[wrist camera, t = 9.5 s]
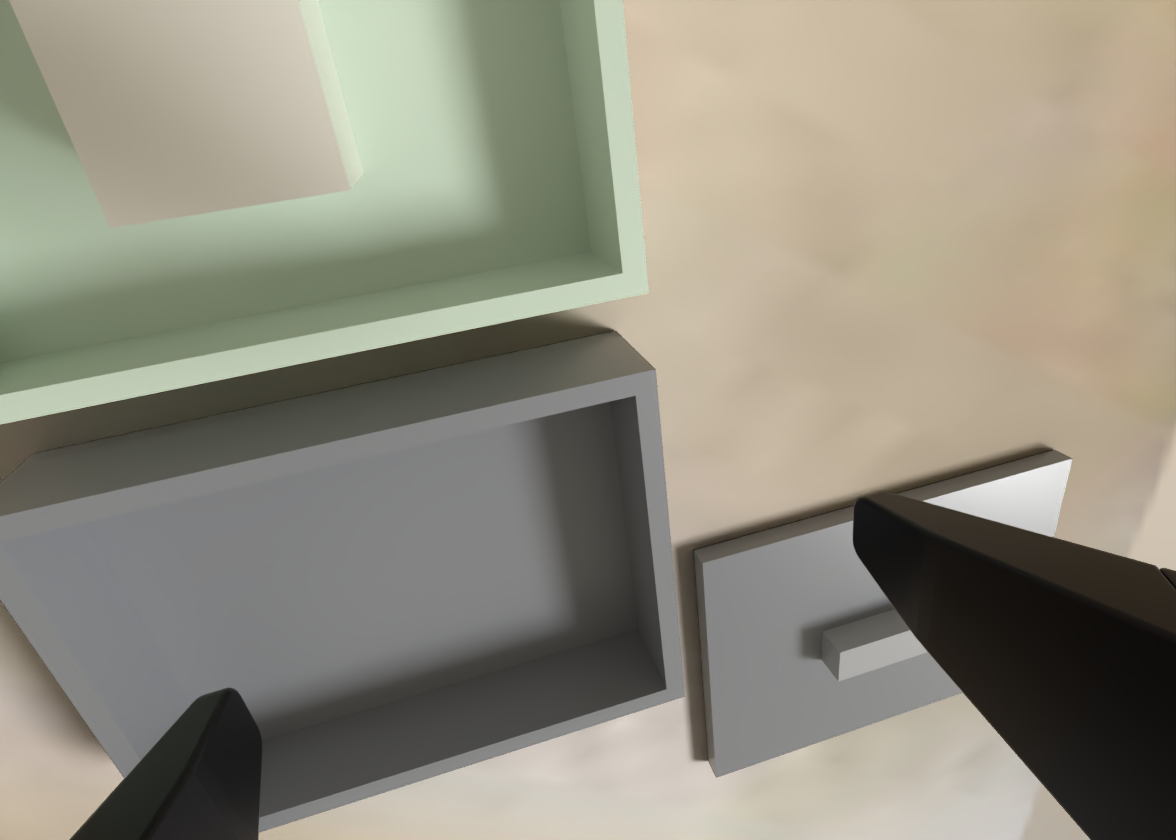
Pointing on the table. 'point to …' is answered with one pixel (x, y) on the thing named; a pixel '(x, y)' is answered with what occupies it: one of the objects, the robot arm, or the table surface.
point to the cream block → (194, 101)
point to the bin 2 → (363, 570)
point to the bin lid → (831, 621)
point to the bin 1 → (336, 211)
